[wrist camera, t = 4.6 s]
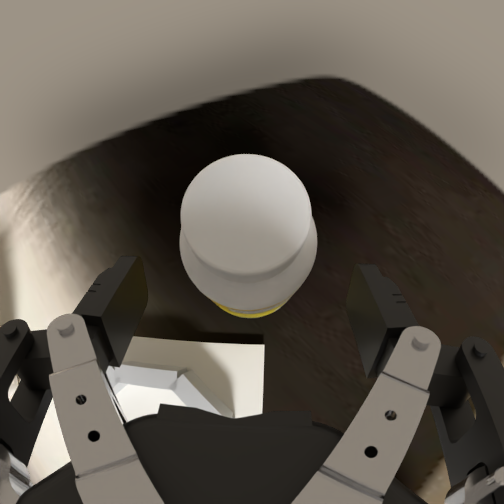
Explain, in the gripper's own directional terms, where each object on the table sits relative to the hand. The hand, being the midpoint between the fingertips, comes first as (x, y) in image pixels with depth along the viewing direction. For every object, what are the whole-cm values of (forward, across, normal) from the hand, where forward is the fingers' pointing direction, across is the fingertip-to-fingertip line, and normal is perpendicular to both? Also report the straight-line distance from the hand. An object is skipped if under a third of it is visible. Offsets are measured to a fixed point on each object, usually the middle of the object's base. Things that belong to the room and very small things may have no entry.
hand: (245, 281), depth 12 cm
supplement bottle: (+6, 0, +4) cm, 7 cm away
